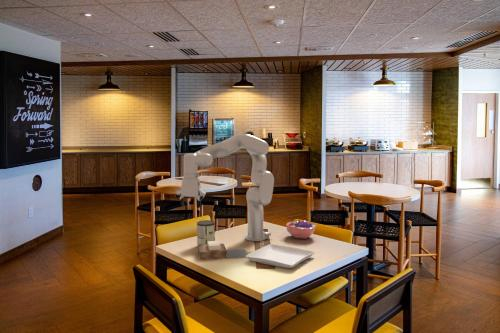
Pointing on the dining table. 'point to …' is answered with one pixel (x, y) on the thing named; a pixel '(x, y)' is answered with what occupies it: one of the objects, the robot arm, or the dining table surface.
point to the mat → (237, 253)
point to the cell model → (300, 229)
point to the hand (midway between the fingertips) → (190, 207)
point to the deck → (211, 252)
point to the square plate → (280, 255)
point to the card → (214, 245)
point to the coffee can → (205, 232)
